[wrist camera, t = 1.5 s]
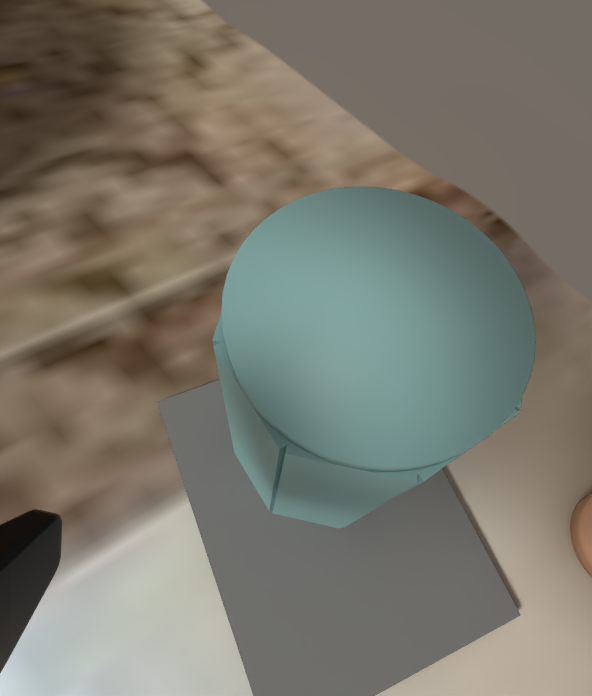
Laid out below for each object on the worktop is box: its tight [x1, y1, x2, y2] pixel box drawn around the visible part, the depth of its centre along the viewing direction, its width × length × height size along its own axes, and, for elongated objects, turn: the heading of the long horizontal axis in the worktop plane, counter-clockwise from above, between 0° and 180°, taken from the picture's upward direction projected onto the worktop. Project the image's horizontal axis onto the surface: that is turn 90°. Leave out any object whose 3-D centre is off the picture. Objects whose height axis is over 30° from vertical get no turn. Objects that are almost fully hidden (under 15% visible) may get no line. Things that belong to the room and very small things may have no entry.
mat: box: [157, 380, 520, 696], centre depth 20 cm, size 13×10×1 cm
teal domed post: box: [213, 187, 535, 529], centre depth 16 cm, size 7×7×11 cm
